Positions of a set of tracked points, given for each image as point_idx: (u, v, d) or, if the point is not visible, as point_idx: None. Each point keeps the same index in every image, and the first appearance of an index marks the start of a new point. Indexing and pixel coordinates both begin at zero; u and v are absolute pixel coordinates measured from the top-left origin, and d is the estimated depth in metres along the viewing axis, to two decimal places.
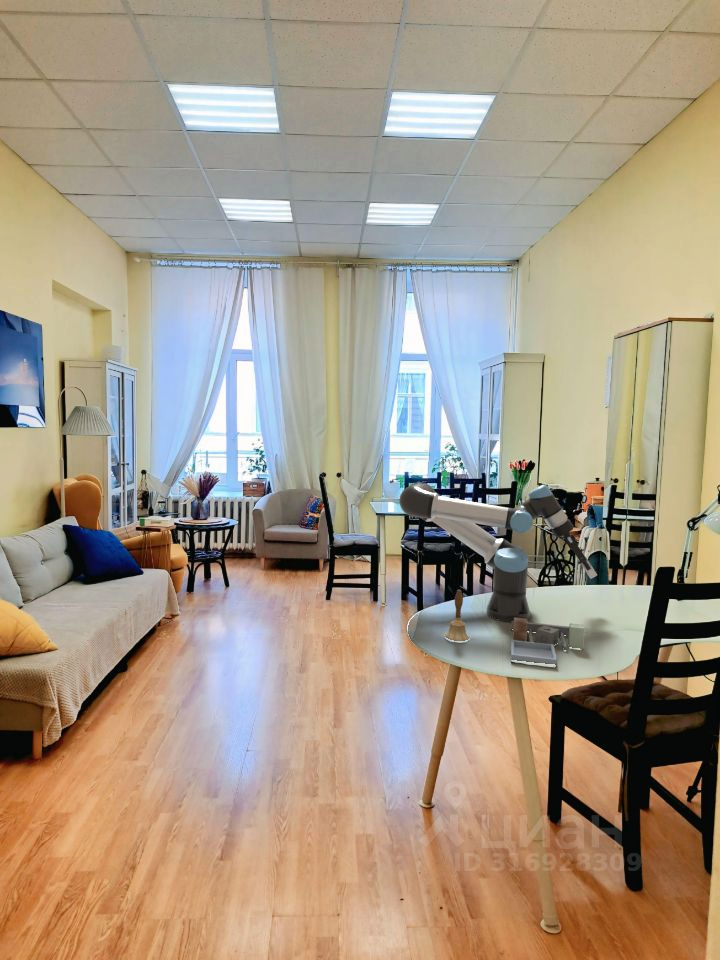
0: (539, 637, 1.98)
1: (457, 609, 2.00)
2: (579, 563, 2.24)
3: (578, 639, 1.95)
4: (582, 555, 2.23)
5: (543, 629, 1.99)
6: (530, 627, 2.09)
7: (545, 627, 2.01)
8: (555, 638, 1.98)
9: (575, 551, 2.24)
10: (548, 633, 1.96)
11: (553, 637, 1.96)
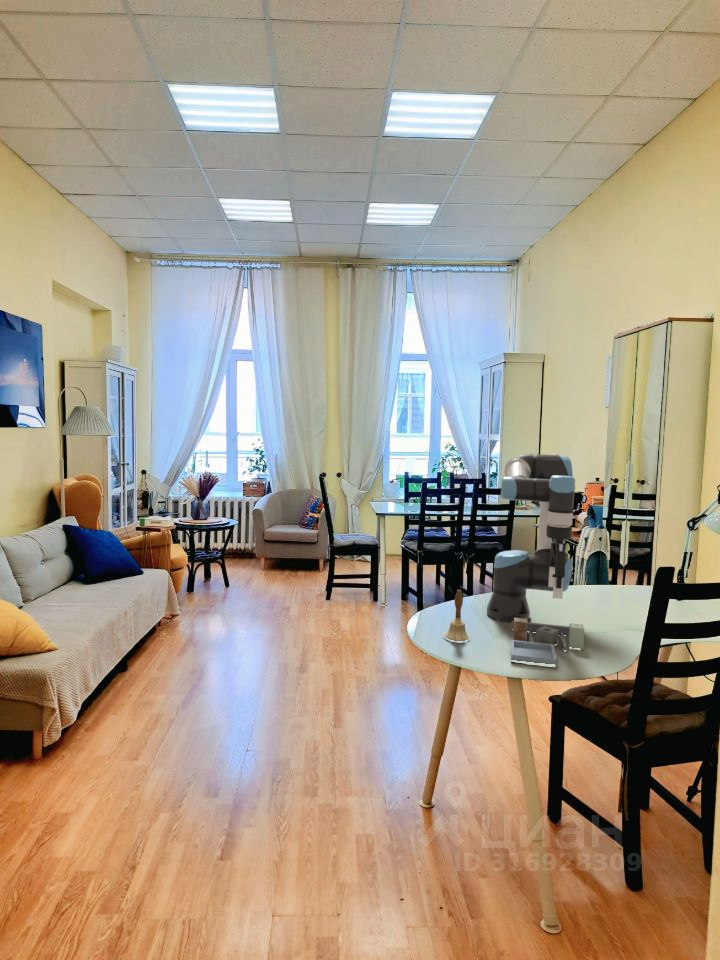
0: (539, 637, 1.98)
1: (457, 609, 2.00)
2: (553, 576, 1.90)
3: (578, 639, 1.95)
4: (562, 570, 1.88)
5: (543, 629, 1.98)
6: (530, 627, 2.09)
7: (545, 627, 2.00)
8: (555, 638, 1.97)
9: (558, 562, 1.89)
10: (548, 633, 1.96)
11: (553, 637, 1.96)
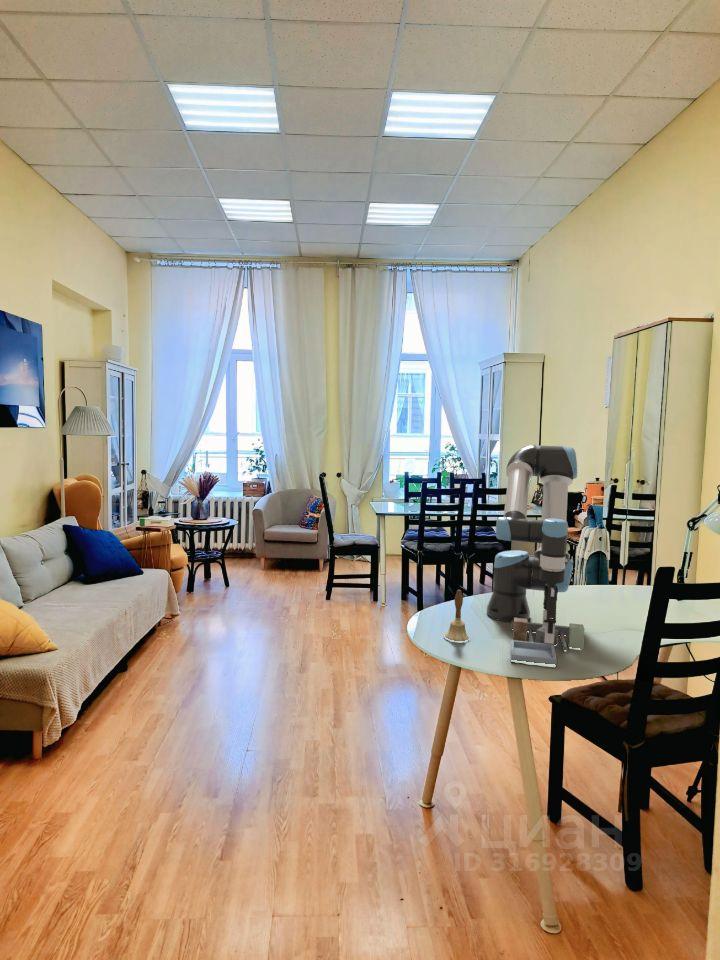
0: (538, 638, 1.98)
1: (457, 609, 2.00)
2: (545, 621, 1.91)
3: (578, 639, 1.95)
4: (554, 616, 1.89)
5: (542, 629, 1.98)
6: (530, 627, 2.09)
7: (544, 627, 2.00)
8: (554, 638, 1.97)
9: (550, 608, 1.90)
10: None
11: None
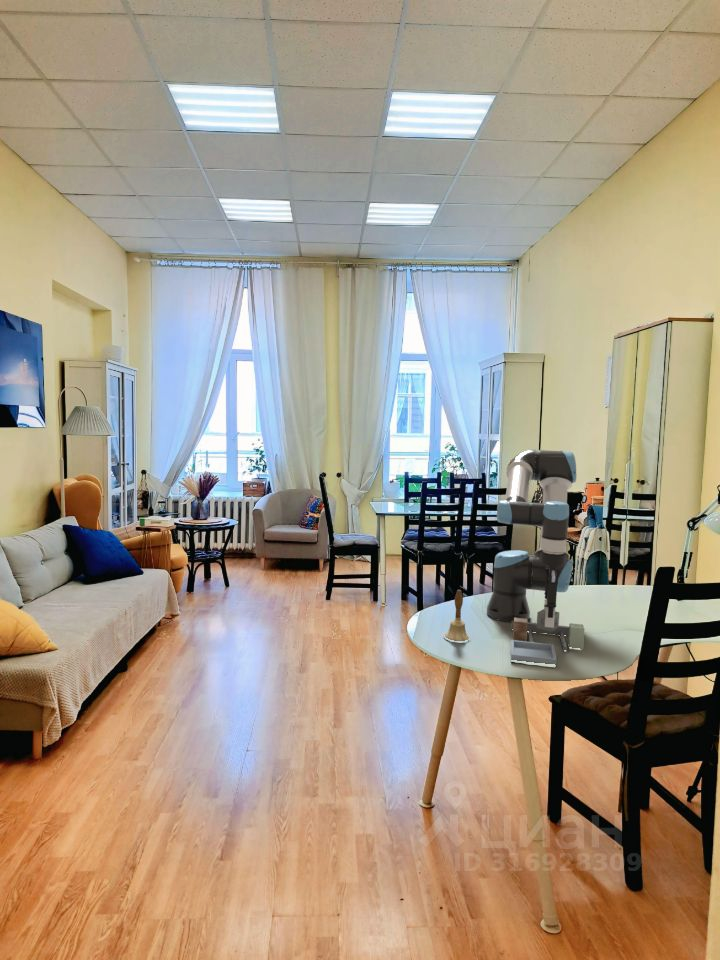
0: (539, 620, 1.98)
1: (457, 609, 2.00)
2: (545, 606, 1.94)
3: (578, 639, 1.95)
4: (554, 601, 1.91)
5: (543, 612, 1.98)
6: (530, 627, 2.09)
7: (545, 610, 2.00)
8: (555, 621, 1.97)
9: (550, 593, 1.92)
10: None
11: None
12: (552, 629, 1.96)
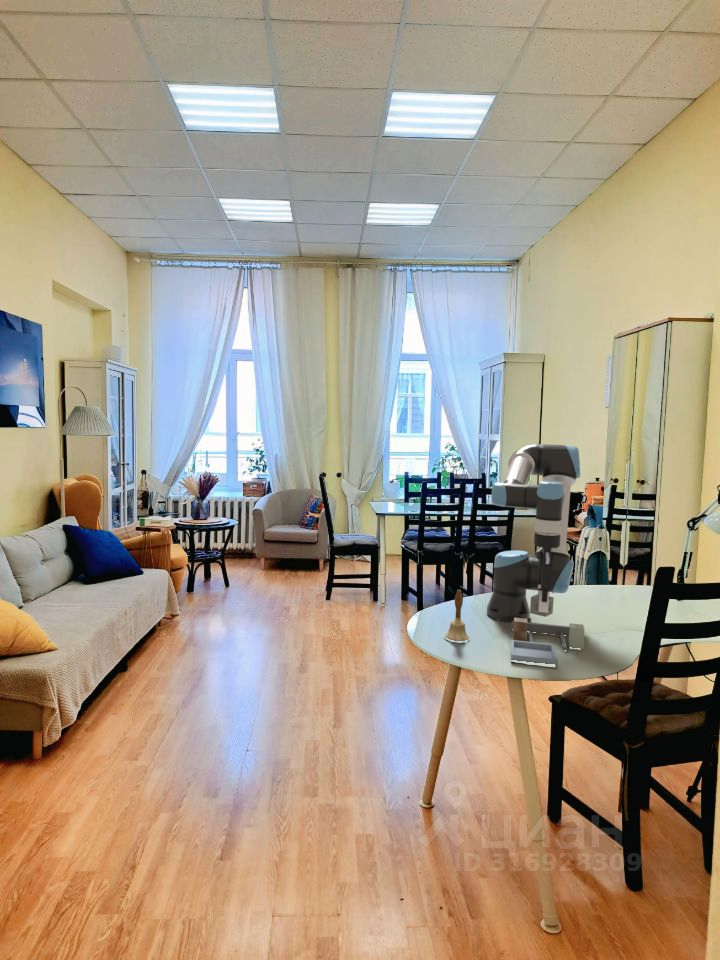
0: (533, 605, 1.90)
1: (457, 609, 2.00)
2: (539, 590, 1.86)
3: (578, 639, 1.95)
4: (548, 584, 1.84)
5: (537, 597, 1.90)
6: (530, 627, 2.09)
7: None
8: (550, 606, 1.89)
9: (544, 576, 1.84)
10: None
11: (548, 605, 1.88)
12: (546, 614, 1.88)
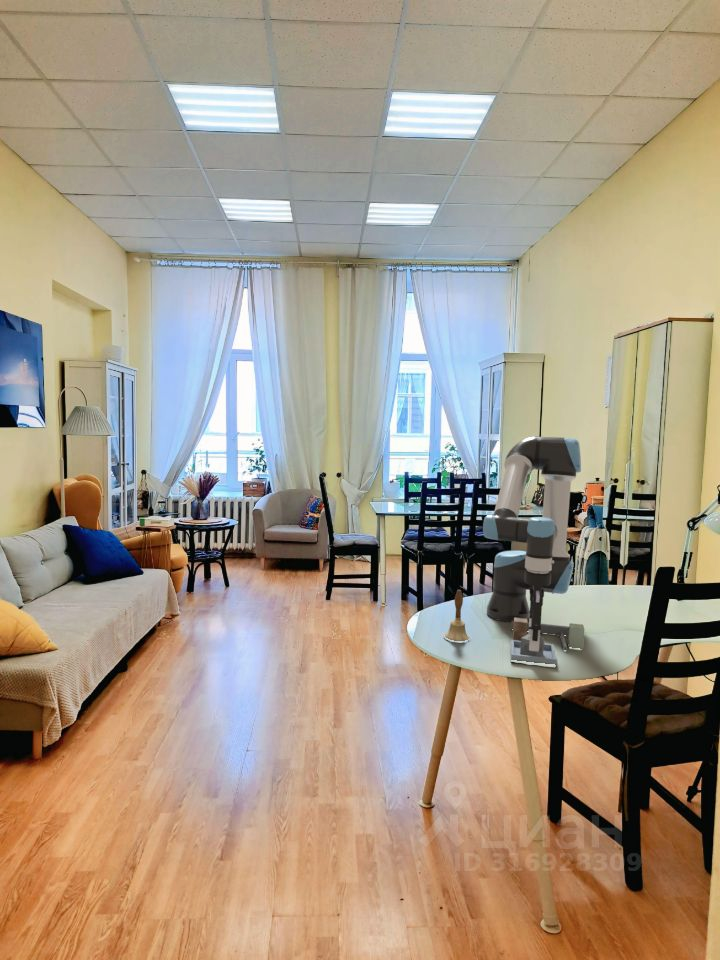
0: (523, 646, 1.87)
1: (457, 609, 2.00)
2: (529, 628, 1.82)
3: (578, 639, 1.95)
4: (538, 623, 1.79)
5: (527, 638, 1.87)
6: None
7: None
8: (540, 647, 1.86)
9: (534, 614, 1.80)
10: None
11: None
12: None
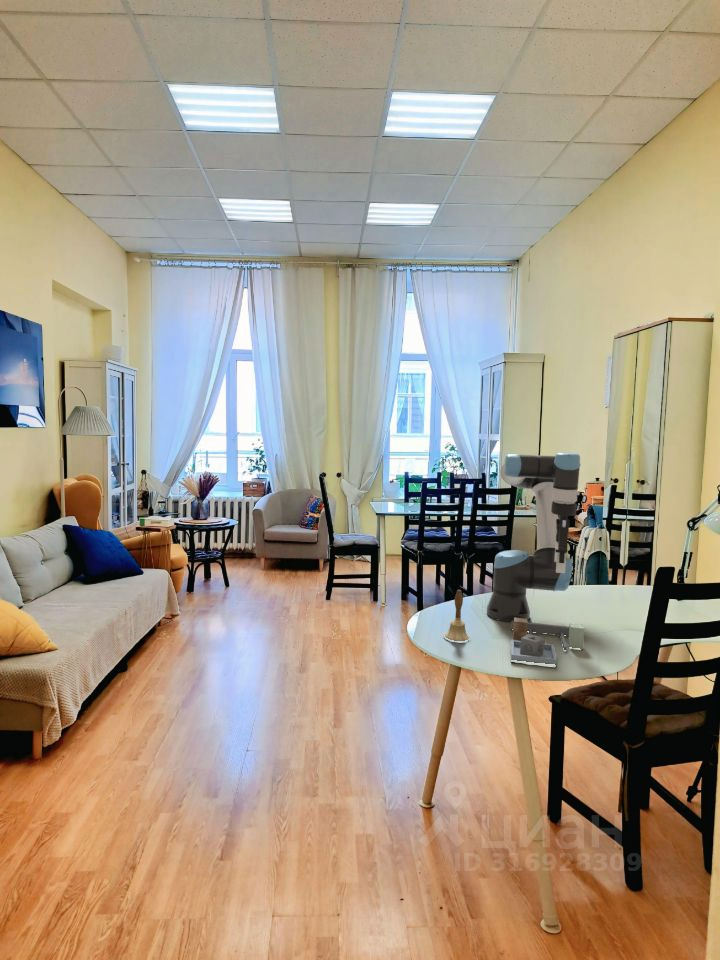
0: (523, 646, 1.87)
1: (457, 609, 2.00)
2: (556, 551, 1.94)
3: (578, 639, 1.95)
4: (565, 545, 1.92)
5: (527, 638, 1.87)
6: (530, 627, 2.09)
7: (529, 635, 1.89)
8: (540, 647, 1.86)
9: (561, 537, 1.93)
10: (533, 642, 1.85)
11: (538, 646, 1.85)
12: None
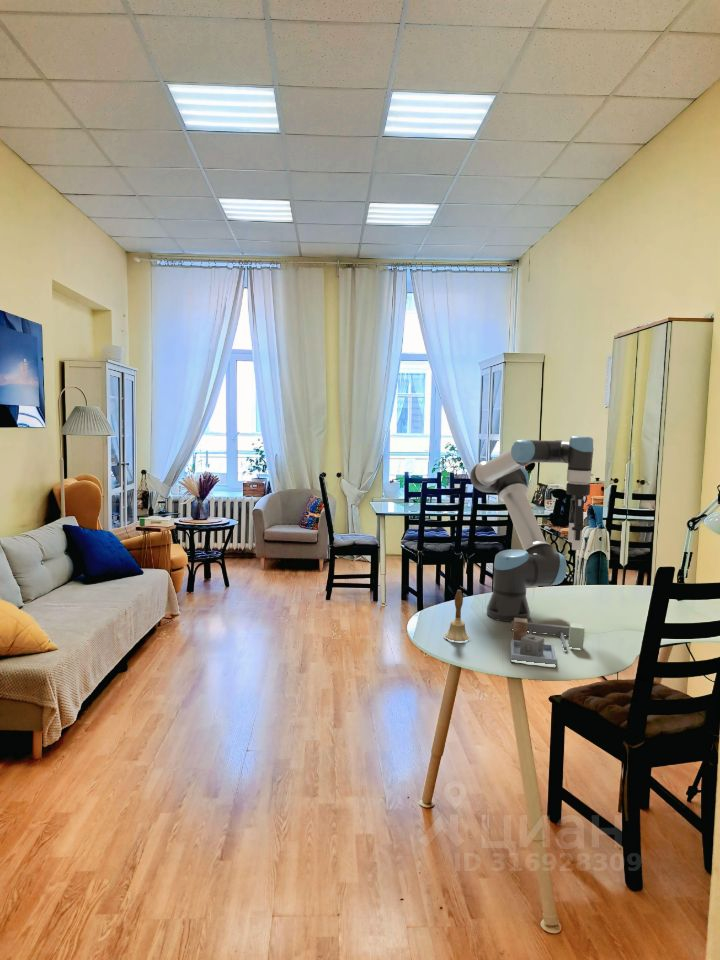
0: (523, 646, 1.86)
1: (457, 609, 2.00)
2: (572, 529, 2.04)
3: (578, 639, 1.95)
4: (581, 523, 2.02)
5: (527, 638, 1.87)
6: (530, 627, 2.09)
7: (529, 636, 1.89)
8: (540, 647, 1.86)
9: (577, 515, 2.03)
10: (533, 642, 1.84)
11: (538, 646, 1.85)
12: None
